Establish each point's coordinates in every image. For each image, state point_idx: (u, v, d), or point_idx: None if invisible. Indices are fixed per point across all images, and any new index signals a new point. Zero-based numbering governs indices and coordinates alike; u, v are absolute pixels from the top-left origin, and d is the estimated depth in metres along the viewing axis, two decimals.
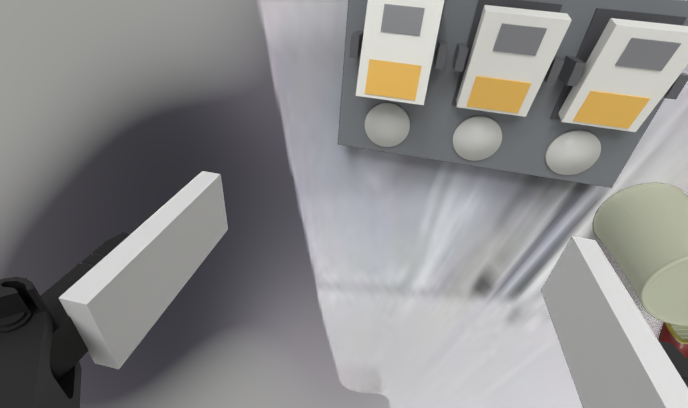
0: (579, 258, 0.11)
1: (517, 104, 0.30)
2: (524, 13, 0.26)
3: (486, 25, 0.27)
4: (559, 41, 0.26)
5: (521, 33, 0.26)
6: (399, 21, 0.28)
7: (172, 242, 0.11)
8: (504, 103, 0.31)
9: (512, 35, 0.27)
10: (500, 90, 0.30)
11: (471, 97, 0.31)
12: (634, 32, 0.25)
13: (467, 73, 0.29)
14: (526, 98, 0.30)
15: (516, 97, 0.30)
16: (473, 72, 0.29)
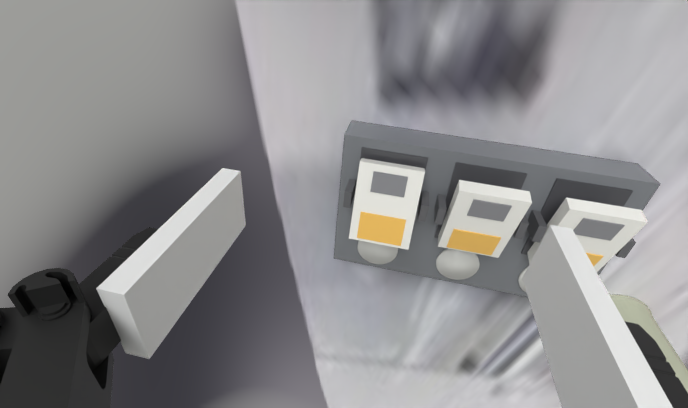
0: (555, 245, 0.12)
1: (490, 249, 0.35)
2: (492, 193, 0.30)
3: (460, 199, 0.31)
4: (523, 214, 0.31)
5: (490, 207, 0.31)
6: (386, 185, 0.33)
7: (197, 236, 0.12)
8: (479, 248, 0.35)
9: (482, 207, 0.31)
10: (475, 239, 0.34)
11: (450, 242, 0.35)
12: (585, 214, 0.29)
13: (446, 226, 0.34)
14: (498, 246, 0.34)
15: (489, 245, 0.34)
16: (451, 226, 0.33)
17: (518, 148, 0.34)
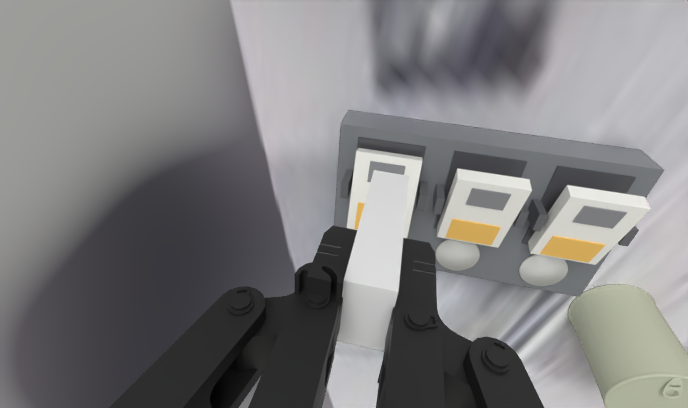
0: (388, 187, 0.14)
1: (490, 239, 0.34)
2: (491, 181, 0.29)
3: (458, 188, 0.30)
4: (522, 202, 0.30)
5: (489, 196, 0.30)
6: None
7: None
8: (479, 238, 0.34)
9: (481, 196, 0.30)
10: (474, 229, 0.33)
11: (449, 232, 0.34)
12: (586, 202, 0.29)
13: (444, 216, 0.33)
14: (498, 236, 0.34)
15: (488, 235, 0.34)
16: (450, 216, 0.33)
17: (518, 136, 0.34)
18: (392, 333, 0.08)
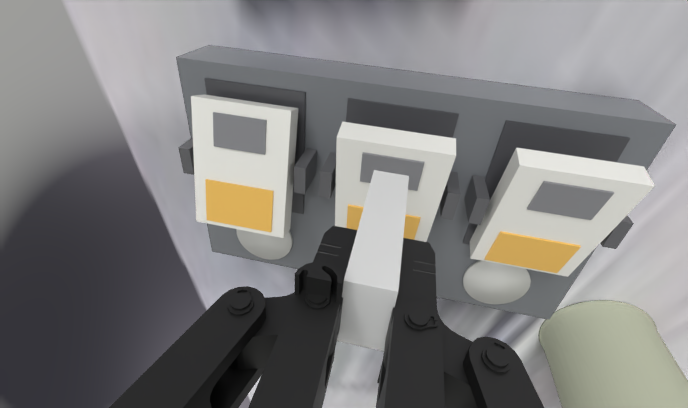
0: (388, 187, 0.14)
1: (409, 237, 0.23)
2: (392, 141, 0.18)
3: (343, 152, 0.19)
4: (445, 177, 0.18)
5: (391, 165, 0.18)
6: (235, 135, 0.21)
7: None
8: None
9: (380, 167, 0.19)
10: None
11: (349, 225, 0.23)
12: (546, 174, 0.17)
13: (336, 201, 0.21)
14: (419, 232, 0.22)
15: (405, 230, 0.22)
16: (343, 200, 0.21)
17: (452, 79, 0.22)
18: (392, 333, 0.08)
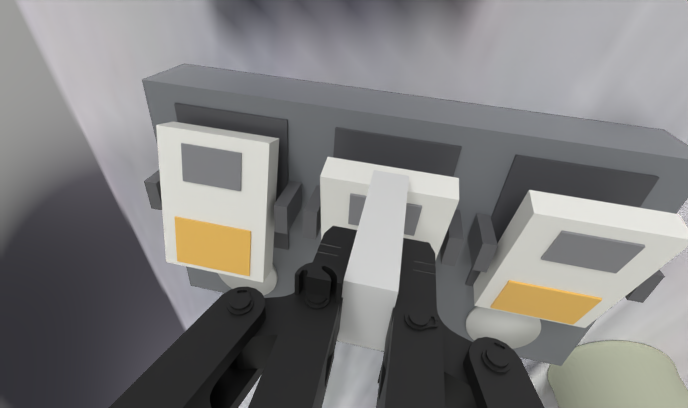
0: (388, 187, 0.14)
1: None
2: None
3: (328, 193, 0.16)
4: (446, 222, 0.16)
5: None
6: (206, 170, 0.18)
7: None
8: None
9: None
10: None
11: None
12: (565, 224, 0.14)
13: None
14: None
15: None
16: None
17: (454, 104, 0.20)
18: (392, 333, 0.08)
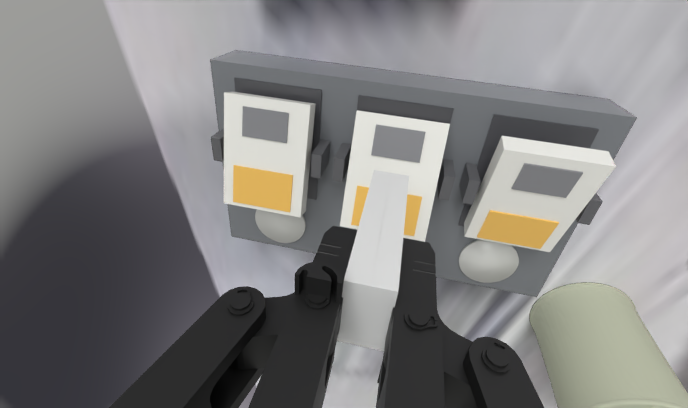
0: (388, 187, 0.14)
1: (411, 225, 0.24)
2: None
3: (360, 126, 0.23)
4: (442, 147, 0.23)
5: (399, 136, 0.23)
6: (261, 126, 0.24)
7: None
8: None
9: (389, 138, 0.23)
10: None
11: (355, 213, 0.24)
12: (526, 157, 0.20)
13: (347, 182, 0.24)
14: (421, 216, 0.24)
15: (408, 214, 0.24)
16: (353, 181, 0.24)
17: (448, 80, 0.26)
18: (392, 333, 0.08)
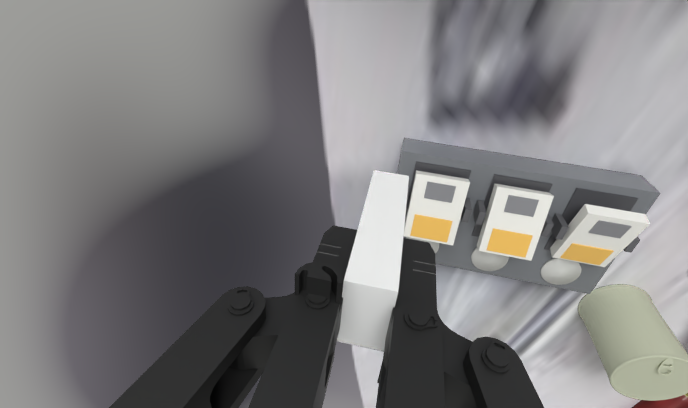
0: (388, 187, 0.14)
1: (524, 251, 0.41)
2: (522, 190, 0.39)
3: (498, 195, 0.39)
4: (548, 208, 0.39)
5: (522, 201, 0.39)
6: (437, 193, 0.40)
7: None
8: (514, 250, 0.41)
9: (516, 202, 0.39)
10: (511, 239, 0.41)
11: (490, 243, 0.41)
12: (600, 217, 0.37)
13: (486, 226, 0.41)
14: (530, 246, 0.41)
15: (523, 245, 0.41)
16: (490, 225, 0.41)
17: (544, 162, 0.42)
18: (392, 333, 0.08)
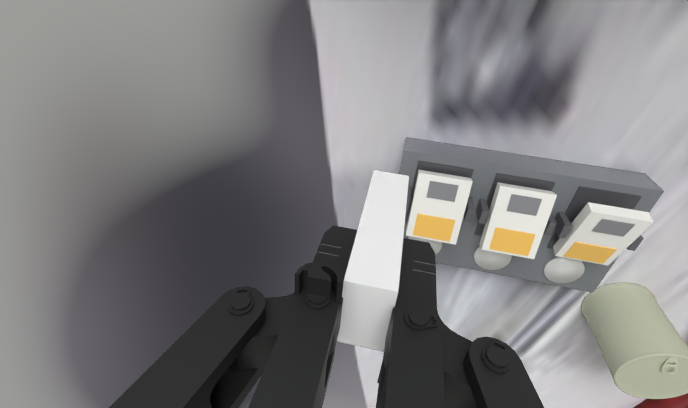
0: (388, 187, 0.14)
1: (527, 249, 0.41)
2: (525, 189, 0.39)
3: (501, 194, 0.39)
4: (551, 207, 0.39)
5: (525, 201, 0.39)
6: (440, 192, 0.40)
7: None
8: (517, 248, 0.41)
9: (519, 201, 0.39)
10: (514, 238, 0.41)
11: (492, 242, 0.41)
12: (603, 216, 0.37)
13: (489, 225, 0.41)
14: (533, 245, 0.41)
15: (526, 244, 0.41)
16: (493, 224, 0.41)
17: (546, 161, 0.42)
18: (392, 333, 0.08)
